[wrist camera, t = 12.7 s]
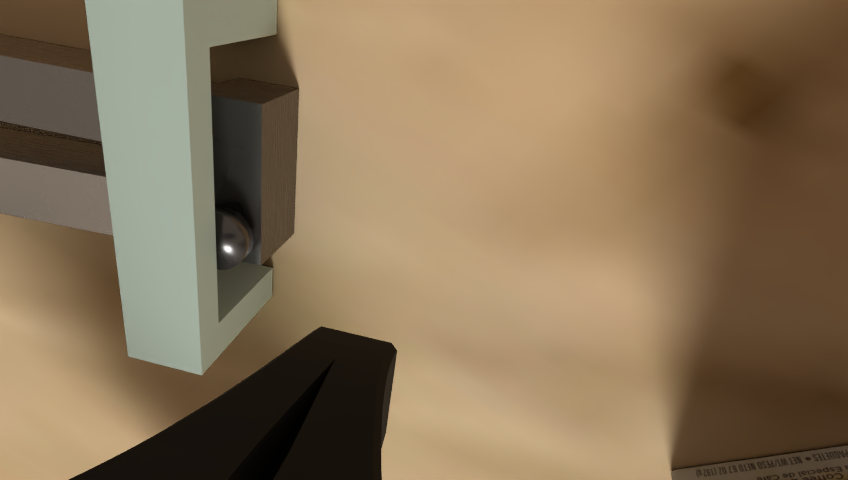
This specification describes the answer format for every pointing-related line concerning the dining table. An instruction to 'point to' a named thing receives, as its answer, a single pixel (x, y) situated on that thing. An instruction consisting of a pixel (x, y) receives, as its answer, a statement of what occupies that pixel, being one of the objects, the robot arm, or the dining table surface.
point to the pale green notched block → (170, 173)
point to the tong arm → (83, 190)
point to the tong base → (231, 130)
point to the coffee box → (776, 467)
